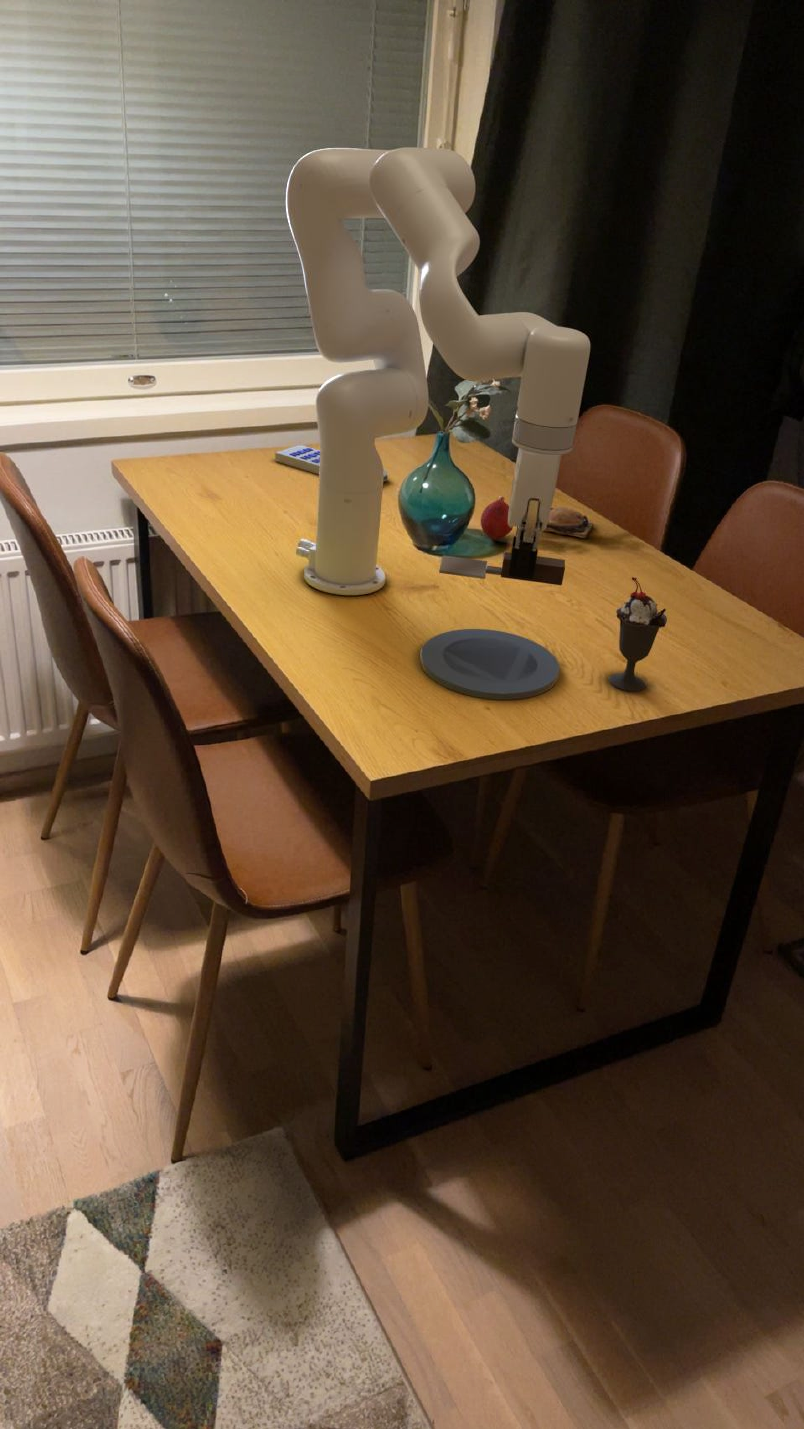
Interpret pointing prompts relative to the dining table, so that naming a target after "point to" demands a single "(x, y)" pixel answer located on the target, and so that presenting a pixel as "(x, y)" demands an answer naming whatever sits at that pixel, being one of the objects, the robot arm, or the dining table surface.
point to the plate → (489, 664)
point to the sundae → (636, 636)
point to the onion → (496, 519)
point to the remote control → (304, 459)
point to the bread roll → (568, 522)
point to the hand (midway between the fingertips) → (521, 570)
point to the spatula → (504, 568)
